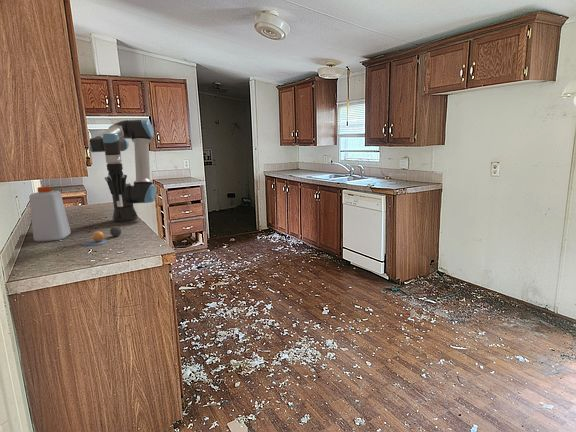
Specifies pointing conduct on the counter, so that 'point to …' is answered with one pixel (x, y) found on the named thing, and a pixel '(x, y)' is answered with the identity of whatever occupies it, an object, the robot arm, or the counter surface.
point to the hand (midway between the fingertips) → (120, 206)
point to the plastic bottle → (48, 215)
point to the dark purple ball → (115, 231)
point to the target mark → (94, 243)
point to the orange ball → (98, 236)
